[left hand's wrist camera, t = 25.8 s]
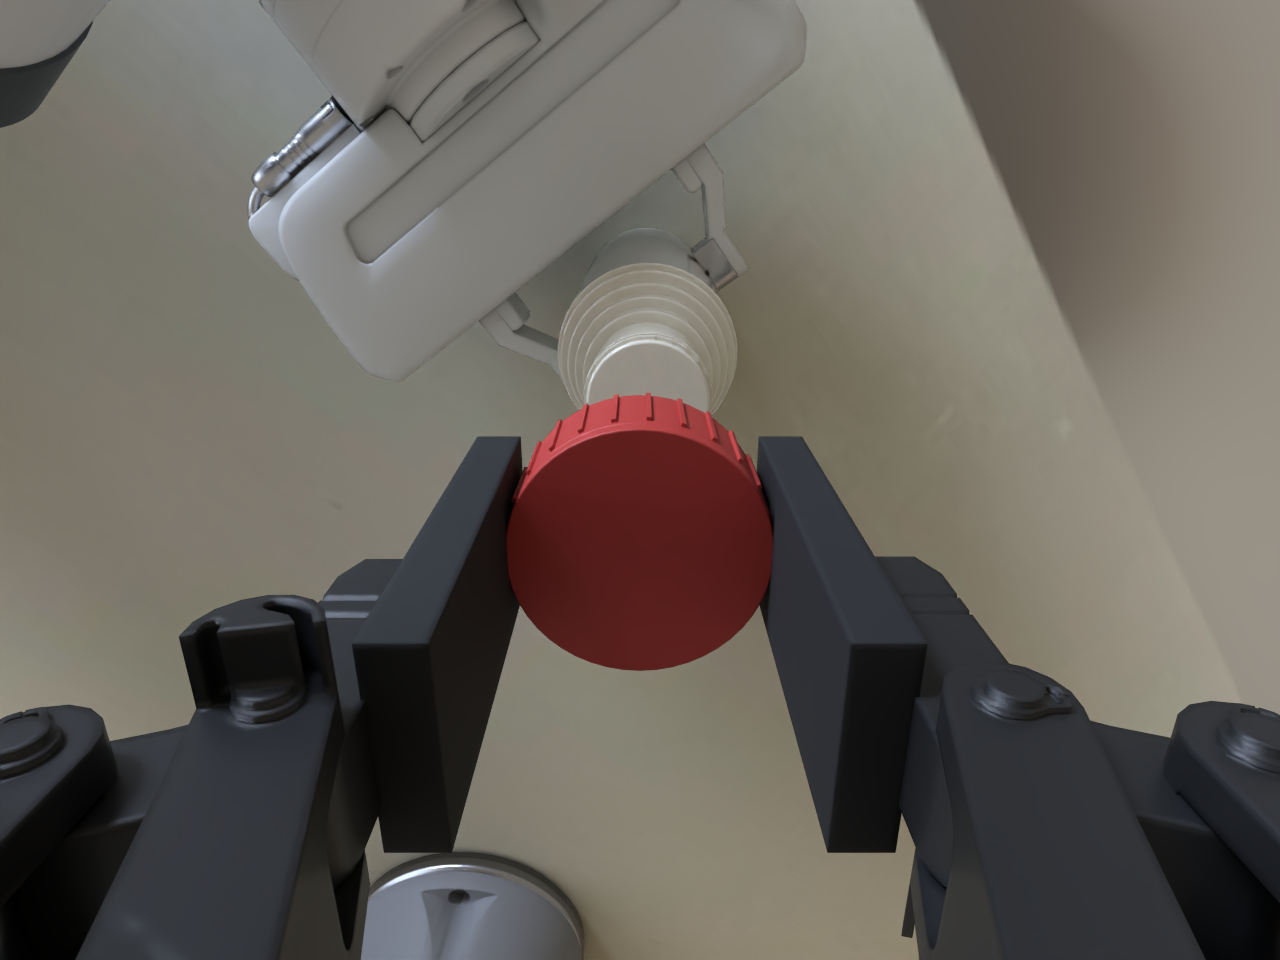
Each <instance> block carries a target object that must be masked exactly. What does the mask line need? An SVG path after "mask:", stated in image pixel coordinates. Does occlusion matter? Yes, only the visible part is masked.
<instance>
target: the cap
mask: <svg viewBox="0 0 1280 960" xmlns="http://www.w3.org/2000/svg"><path fill="white" fill-rule="evenodd" d="M761 488H762V485H761V483H760V480H759V478H758V475H757V472H756V470H755V467H754V465H753V462H752V459H751V457H750V455H749V454H748V455H745V453H744V452H743V450H742V449H741V447H740V446H739V444H738V442H737V440H736V437H735V435H734V433H733V432H732V430H731V431H729V432H728V431H727V430H726V429H725V428H724V427H723V426H722V425H720V424H719V423H718V422H717V421H716V420H715V419H713V418H712V416H711V413H710V412H708V411H706V413H704V412H702V411H700V410H698V409H696V408H694V407H692V406H690V405H688V404H685V403H683V401H682V399H679V398H678V399H677V401H676V400H673V399H669V398H663V397H658V396H651V393H646V395H633V396H621V397H619V395H618V394H616V395H614V396H613V398H611V399H606V400H603V401H600V402H597V403H594V404H591V405H588V403H587V404H585V405H583V409H581V410H579V411H577V412H576V413H574V414H573V415H571V416H570V417H568V418H566V419H565V420H564V421H562V420H561V419H560V420H559V421H558V422H557V424H556V427H555V428H554V429H553V430H552V431H551V432H550V434H549V435H548V436H547V437H546V438H545V439H544V440H543V442H540V441H539V442H538V443H537V445H536V447H535V450H534V453H533V455H532V458H531V461H530V463H529V466H528V468H527V467H524V470H523V472H522V475H521V477H520V480H519V482H518V485H517V488H516V490H515V493H514V495H513V498H512V500H511V502H513V503H514V506H513V509H512V512H511V515H510V518H509V521H508V525H507V531H506V543H507V559H508V573H509V580H510V583H511V587H512V589H513V591H514V594H515V596H516V598H517V600H518V602H519V604H520V606H521V607H522V609H523V610H524V612H525V613H526V615H527V616H528V618H529V619H530V620H531V621H532V622H533V624H534V625H535V626H536V627H537V628H538V629H539V630H540V631H541V632H542V633H543V634H544V635H545V636H546V637H547V638H548V639H550V640H551V641H552V642H554V643H555V644H557V645H558V646H559V647H561V648H562V649H564V650H566V651H567V652H569V653H571V654H573V655H575V656H577V657H579V658H581V659H584V660H586V661H589V662H591V663H595V664H598V665H602V666H605V667H610V668H616V669H622V670H637V671H643V670H658V669H664V668H670V667H674V666H678V665H681V664H685V663H688V662H691V661H693V660H696V659H698V658H700V657H703V656H705V655H707V654H708V653H710V652H712V651H714V650H716V649H717V648H719V647H720V646H722V645H723V644H724V643H726V642H727V641H728V640H730V639H731V638H732V637H733V636H734V635H735V634H736V633H737V632H739V631H740V630H741V629H742V628H743V627H744V625H745V624H746V623H747V622H748V621H749V619H750V618H751V617H752V616H753V614H754V613H755V611H756V609H757V608H758V606H759V605H760V603H761V601H762V599H763V597H764V595H765V592H766V590H767V588H768V585H769V581H770V577H771V565H772V551H773V529H772V523H771V520H770V512H769V509H768V507H767V504H766V502H765V499H764V496H763V494H762V491H761Z"/></svg>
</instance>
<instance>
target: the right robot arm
mask: <svg viewBox="0 0 1280 960" xmlns="http://www.w3.org/2000/svg"><path fill="white" fill-rule="evenodd" d="M109 1H110V0H0V128H1V127H5V126H9V125H12V124H15V123H17V122H19V121H21V120H23V119H25V118H27V117H28V116H29V115H31V114H32V113H33V112H34V111H35V110H36V109H37V108H38V107H39V106H40V104H41V103H42V101H43V100H44V98H45V97H46V95H47V94H48V92H49V91H50V89H51V88H52V86H53V85H54V83H55V82H56V81H57V79H58V78H59V76H60V75H61V73H62V72H63V70H64V69H65V67H66V66H67V64H68V63H69V61H70V60H71V58H72V57H73V56H74V54H75V53H76V51H77V50H78V48H79V47H80V45H81V44H82V42H83V41H84V39H85V38H86V36H87V34H88V32H89V30H90V28H91V25H92V23H93V20H94V19H95V18H96V17H97V15H98V14H99V13H100V12H101V11H102V10H103V8H104V7H105V6H106V5H107V4H108V3H109ZM257 1H258V2H259V4H260V5H261V6H262V8H263V9H264V10H265V11H266V13H267V14H268V15H269V16H270V18H271V19H272V20H273V21H274V23H275V24H276V25H277V26H278V28H279V29H280V30H281V32H282V33H283V34H284V35H285V37H286V38H287V39H288V40H289V42H290V43H291V44H292V45H293V47H294V48H295V49H296V50H297V52H298V53H299V54H300V55H301V57H302V58H303V59H304V60H305V62H306V63H307V64H308V65H309V67H310V68H311V69H312V70H313V72H314V73H315V74H316V76H317V77H318V78H319V79H320V81H321V82H322V83H323V84H324V86H325V87H326V88H327V89H328V90H329V92H330V93H331V94H332V97H331V99H330V100H329V101H327V102H326V103H325V104H324V105H322V106H321V108H320V109H319V110H318V111H317V112H316V113H315V114H314V115H312V116H311V117H310V118H309V119H308V120H307V121H306V122H305V123H304V124H303V125H302V126H301V127H300V128H299V130H298V131H297V132H296V133H295V135H294V136H293V137H292V138H291V139H290V141H289V142H288V143H287V144H286V145H285V146H284V147H283V148H282V149H281V150H279V151H278V152H277V153H275V152H274V153H273V154H271V155H270V156H268V157H267V158H266V159H265V160H264V161H263V162H262V163H261V164H260V165H259V166H258V167H257V169H256V170H255V172H254V173H253V175H252V182H253V184H254V185H255V186H254V188H253V190H252V192H251V194H250V197H249V201H248V218H249V227H250V229H251V232H252V234H253V236H254V237H255V238H256V240H257V241H258V243H259V244H260V245H261V246H262V247H263V248H264V249H265V250H266V252H267V253H268V254H269V255H270V256H271V257H272V258H273V260H274V261H275V262H276V263H277V264H278V265H279V266H280V268H281V269H283V270H284V271H285V272H286V273H287V274H289V275H290V276H291V277H293V278H294V279H296V280H298V281H300V283H301V284H302V286H303V287H304V289H305V291H306V292H307V294H308V295H309V297H310V298H311V300H312V301H313V303H314V304H315V306H316V307H317V309H318V310H319V312H320V313H321V315H322V316H323V318H324V319H325V320H326V322H327V323H328V325H329V326H330V327H331V329H332V330H333V332H334V333H335V334H336V336H337V337H338V338H339V340H340V341H341V342H342V344H343V345H344V346H345V347H346V349H347V350H348V351H349V352H350V354H351V355H352V356H353V357H354V359H355V360H356V361H357V362H358V363H359V365H360V366H361V367H362V368H363V369H364V370H365V371H366V372H367V373H369V374H371V375H373V376H376V377H380V378H384V379H387V380H392V381H396V382H399V381H403V380H404V379H405V378H407V377H408V376H409V375H411V374H412V373H413V372H414V371H416V370H417V369H418V368H419V367H421V366H422V365H423V364H424V363H426V362H427V361H428V360H430V359H431V358H432V357H433V356H435V355H436V354H437V353H438V352H440V351H441V350H442V349H444V348H445V347H446V346H447V345H449V344H450V343H451V342H452V341H454V340H455V339H456V338H457V337H459V336H460V335H461V334H463V333H464V332H465V331H466V330H468V329H469V328H470V327H471V326H473V325H474V324H475V323H476V322H478V321H479V322H480V323H481V324H482V326H483V327H484V328H485V329H486V330H487V332H488V333H489V334H490V335H491V337H492V338H493V339H494V340H495V342H496V343H497V344H498V345H500V346H502V347H505V348H507V349H510V350H512V351H515V352H517V353H520V354H522V355H525V356H527V357H530V358H532V359H535V360H537V361H539V362H542V363H544V364H546V363H547V362H548V363H549V364H550V365H551V367H552V368H553V369H554V370H555V372H556V373H557V374H558V375H559V377H560V378H561V374H560V371H559V365H558V339H556V338H553V337H551V336H549V335H547V334H544V333H542V332H540V331H538V330H536V329H533V328H531V327H529V326H527V325H524V323H525V322H526V320H527V319H528V318H529V316H530V310H529V309H528V308H527V307H526V305H525V304H524V303H523V301H522V300H521V299H520V297H519V296H518V295H517V294H516V291H517V290H518V289H520V288H521V287H522V286H523V285H525V284H526V283H527V282H528V281H530V280H531V279H532V278H534V277H535V276H536V275H537V274H539V273H540V272H541V271H542V270H544V269H545V268H546V267H548V266H549V265H550V264H551V263H553V262H554V261H555V260H556V259H558V258H559V257H560V256H561V255H563V254H564V253H565V252H567V251H568V250H569V249H570V248H572V247H573V246H574V245H575V244H577V243H578V242H579V241H580V240H582V239H583V238H584V237H586V236H587V235H588V234H589V233H591V232H592V231H593V230H594V229H596V228H597V227H598V226H600V225H601V224H602V223H603V222H605V221H606V220H607V219H608V218H610V217H611V216H612V215H613V214H615V213H616V212H617V211H619V210H620V209H621V208H622V207H624V206H625V205H626V204H627V203H629V202H630V201H631V200H633V199H634V198H635V197H636V196H638V195H639V194H640V193H641V192H643V191H644V190H645V189H646V188H648V187H649V186H650V185H652V184H653V183H654V182H655V181H657V180H658V179H659V178H660V177H662V176H663V175H664V174H665V173H667V172H668V171H669V170H671V169H672V171H673V172H674V174H675V175H676V176H677V178H678V179H679V181H680V182H681V183H682V185H683V186H684V188H685V189H686V191H688V192H689V193H694V192H696V191H697V190H698V189H700V188H701V190H702V201H703V212H704V224H705V235H706V237H705V238H704V239H703V240H701V241H700V242H699V243H698V244H696V245H695V246H694V247H692V248H691V249H690V251H691V253H692V255H693V256H694V258H695V259H696V260H697V262H698V263H699V265H700V266H701V267H702V268H703V269H704V270H706V273H707V275H708V276H709V278H710V280H711V281H712V283H713V285H714V287H715V288H716V289H717V291H719V290H720V289H721V288H723V287H724V286H726V285H727V284H729V283H730V282H731V281H733V280H734V279H736V278H737V277H738V276H740V275H741V274H742V273H744V272H745V271H746V270H748V269H749V268H748V266H747V264H746V262H745V261H744V259H743V258H742V256H741V255H740V253H739V252H738V250H737V249H736V247H735V246H734V244H733V243H732V241H731V240H730V238H729V237H728V235H727V234H726V232H725V231H724V229H725V228H726V214H725V199H724V185H723V172H722V170H721V169H720V167H719V166H718V164H717V162H716V161H715V159H714V158H713V156H712V155H711V153H710V152H709V150H708V149H707V147H706V145H705V144H704V143H705V142H706V141H707V140H709V139H710V138H711V137H712V136H714V135H715V134H716V133H717V132H719V131H720V130H721V129H723V128H724V127H725V126H726V125H728V124H729V123H730V122H731V121H733V120H734V119H735V118H737V117H738V116H739V115H740V114H742V113H743V112H744V111H745V110H747V109H748V108H749V107H750V106H752V105H753V104H754V103H756V102H757V101H758V100H759V99H761V98H762V97H763V96H764V95H766V94H767V93H768V92H769V91H771V90H772V89H773V88H775V87H776V86H777V85H778V84H780V83H781V82H782V81H783V80H785V79H786V78H787V77H788V76H790V75H791V74H792V73H794V72H795V71H796V70H797V69H799V68H800V67H801V65H802V63H803V61H804V56H805V48H806V37H807V27H806V23H805V20H804V17H803V15H802V13H801V11H800V10H799V8H798V6H797V4H796V3H795V1H794V0H257ZM304 167H305V168H304ZM264 195H266V196H268V197H272V196H273V197H272V198H271V199H270V200H269V201H268V202H266V203H265V204H264V205H263V206H262V207H261V208H260V203H261V200H262V198H263V196H264ZM561 379H562V378H561Z"/></svg>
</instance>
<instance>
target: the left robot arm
mask: <svg viewBox="0 0 1280 960" xmlns="http://www.w3.org/2000/svg"><path fill="white" fill-rule="evenodd" d="M522 472H523V471H522V453H521V437H477V438H476V440H475V442H474V443H473V445H472V447H471V448H470V450H469V452H468V453H467V455H466V457H465V458H464V460H463V461H462V463H461V465H460V466H459V468H458V470H457V471H456V473H455V475H454V476H453V478H452V480H451V481H450V483H449V484H448V486H447V488H446V489H445V491H444V493H443V494H442V496H441V498H440V499H439V501H438V503H437V504H436V506H435V508H434V509H433V511H432V512H431V514H430V516H429V517H428V519H427V521H426V522H425V524H424V526H423V527H422V529H421V531H420V532H419V534H418V536H417V537H416V539H415V540H414V542H413V544H412V545H411V547H410V549H409V550H408V552H407V554H406V555H405V557H404V559H365V560H364V561H362V562H360V563H359V564H357V565H356V566H354V567H352V568H351V569H349V570H348V571H346V572H345V573H343V574H341V575H340V576H338V577H337V579H336V580H335V581H334V583H333V584H332V586H331V587H330V588H329V590H328V591H327V592H326V594H325V595H324V596H323V601H320V602H319V603H317V602H315V601H314V600H313V599H309V598H304V597H300V596H296V595H266V596H261V597H255V598H250V599H244V600H240V601H237V602H234V603H231V604H229V605H226V606H223V607H220V608H217V609H214V610H213V611H211V612H209V613H208V614H206V615H204V616H202V617H201V618H199V619H197V620H195V621H194V622H192V623H191V624H190V625H189V626H188V627H187V629H186V630H185V631H184V632H183V633H182V634H181V635H180V636H179V639H180V643H181V648H182V652H183V656H184V660H185V664H186V668H187V672H188V676H189V680H190V684H191V688H192V692H193V696H194V700H195V704H196V708H197V709H196V711H195V713H194V715H193V717H192V719H191V721H190V723H189V725H185V726H181V727H177V728H174V729H170V730H165V731H160V732H155V733H150V734H145V735H140V736H135V737H130V738H125V739H120V740H115V741H109V738H108V734H107V731H106V728H105V724H104V721H103V718H102V717H101V716H100V715H98V714H97V713H96V712H95V711H93V710H92V709H91V708H86V707H80V706H74V705H61V706H51V707H39V708H35V709H30V710H26V712H23V713H22V711H21V712H18V713H15V714H12V715H9V716H6V717H4V718H2V719H0V960H583V955H584V931H583V926H582V923H581V920H580V917H579V915H578V913H577V911H576V909H575V908H574V906H573V904H572V903H571V901H570V900H569V899H568V898H567V896H566V895H565V894H564V893H563V892H562V891H561V890H560V889H559V888H558V887H557V886H556V885H554V884H553V883H552V882H551V881H549V880H548V879H547V878H545V877H544V876H542V875H541V874H539V873H537V872H536V871H534V870H532V869H530V868H528V867H526V866H524V865H521V864H519V863H516V862H514V861H510V860H507V859H504V858H500V857H496V856H492V855H486V854H480V853H468V852H453V853H452V850H453V847H454V843H455V839H456V836H457V832H458V828H459V825H460V821H461V817H462V814H463V810H464V807H465V803H466V799H467V796H468V792H469V788H470V785H471V781H472V777H473V774H474V770H475V766H476V763H477V759H478V756H479V752H480V748H481V745H482V741H483V737H484V734H485V730H486V726H487V723H488V719H489V716H490V712H491V708H492V705H493V701H494V697H495V694H496V690H497V686H498V683H499V679H500V676H501V672H502V668H503V665H504V661H505V657H506V654H507V650H508V646H509V643H510V639H511V636H512V632H513V628H514V625H515V621H516V617H517V614H518V610H519V606H520V604H519V602H518V600H517V598H516V596H515V594H514V591H513V589H512V587H511V583H510V580H509V573H508V559H507V543H506V531H507V525H508V521H509V518H510V515H511V512H512V509H513V506H514V503H513V502H511V500H512V498H513V495H514V493H515V490H516V488H517V485H518V482H519V480H520V477H521V475H522ZM757 475H758V478H759V480H760V483H761V485H762V488H761V491H762V494H763V496H764V499H765V502H766V504H767V507H768V509H769V512H770V520H771V523H772V529H773V551H772V565H771V577H770V581H769V585H768V588H767V590H766V592H765V595H764V597H763V599H762V601H761V603H760V608H761V612H762V616H763V619H764V623H765V626H766V630H767V634H768V637H769V641H770V645H771V648H772V652H773V656H774V659H775V663H776V667H777V670H778V674H779V677H780V681H781V685H782V688H783V692H784V696H785V699H786V703H787V707H788V710H789V714H790V718H791V721H792V725H793V728H794V732H795V736H796V739H797V743H798V747H799V750H800V754H801V758H802V761H803V765H804V768H805V772H806V776H807V779H808V783H809V787H810V790H811V794H812V798H813V801H814V805H815V809H816V812H817V816H818V819H819V823H820V827H821V830H822V834H823V838H824V841H825V845H826V849H827V852H828V853H895V852H896V845H897V839H898V832H899V826H900V820H901V813H902V815H903V817H904V820H905V822H906V824H907V827H908V829H909V832H910V834H911V837H912V839H913V842H914V844H915V847H916V849H915V855H914V861H913V867H912V873H911V879H910V885H909V891H908V897H907V903H906V909H905V915H904V921H903V928H902V936H904V937H910V938H912V936H913V931H914V925H915V928H916V936H917V944H918V952H919V960H1280V715H1279V714H1277V713H1274V712H1272V711H1268V710H1265V709H1262V708H1259V709H1257V708H1255V707H1254V706H1250V705H1245V704H1239V703H1227V702H1217V701H1208V702H1202V703H1196V704H1190V705H1188V706H1187V707H1186V708H1185V709H1184V710H1182V711H1181V712H1180V713H1179V714H1178V715H1177V719H1176V722H1175V725H1174V729H1173V732H1172V735H1171V738H1168V737H1163V736H1158V735H1153V734H1148V733H1143V732H1138V731H1133V730H1128V729H1123V728H1118V727H1113V726H1108V725H1105V724H1101V723H1097V722H1093V721H1090V720H1089V718H1088V716H1087V714H1086V711H1085V709H1084V707H1083V706H1082V705H1081V704H1080V702H1079V701H1078V700H1077V699H1076V697H1075V696H1074V695H1073V694H1072V692H1071V691H1069V690H1068V689H1066V688H1065V687H1063V686H1062V685H1060V684H1059V683H1057V682H1056V681H1055V680H1053V679H1052V678H1050V677H1048V676H1045V675H1043V674H1040V673H1038V672H1036V671H1033V670H1031V669H1028V668H1026V667H1022V666H1017V665H1013V664H1009V663H1008V662H1007V661H1006V659H1005V658H1004V657H1003V655H1002V654H1001V653H1000V651H999V650H998V649H997V647H996V646H995V645H994V643H993V642H992V640H991V639H990V638H989V636H988V635H987V634H986V632H985V631H984V630H983V628H982V627H981V626H980V624H979V623H978V622H977V620H976V619H975V618H974V616H973V615H969V610H968V608H967V607H966V606H965V604H964V603H963V602H962V600H961V599H960V598H957V594H956V592H955V591H954V590H953V588H952V587H951V586H950V584H949V583H948V582H947V580H946V579H945V578H944V576H943V575H942V574H941V573H940V572H938V571H936V570H935V569H933V568H932V567H930V566H928V565H927V564H925V563H924V562H922V561H920V560H919V559H917V558H916V557H875V556H874V555H873V553H872V551H871V550H870V548H869V546H868V545H867V543H866V541H865V540H864V538H863V536H862V535H861V533H860V532H859V530H858V528H857V527H856V525H855V523H854V522H853V520H852V518H851V517H850V515H849V513H848V512H847V510H846V508H845V507H844V505H843V504H842V502H841V500H840V499H839V497H838V495H837V494H836V492H835V490H834V489H833V487H832V485H831V484H830V482H829V480H828V479H827V477H826V476H825V474H824V472H823V471H822V469H821V467H820V466H819V464H818V462H817V461H816V459H815V457H814V456H813V454H812V453H811V451H810V449H809V448H808V446H807V444H806V443H805V441H804V439H803V438H802V437H759V444H758V461H757ZM377 817H379V823H380V830H381V836H382V842H383V849H384V853H441V854H433V855H429V856H424V857H420V858H417V859H414V860H411V861H408V862H406V863H403V864H401V865H399V866H397V867H395V868H393V869H392V870H390V871H389V872H387V873H385V874H384V875H383V876H381V877H380V878H379V879H378V880H377V881H376V882H375V883H374V884H373V885H372V886H371V887H370V881H369V874H368V867H367V861H366V855H365V847H366V844H367V842H368V840H369V837H370V835H371V832H372V830H373V827H374V825H375V822H376V820H377Z"/></svg>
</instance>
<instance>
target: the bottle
mask: <svg viewBox="0 0 1280 960" xmlns="http://www.w3.org/2000/svg"><path fill="white" fill-rule="evenodd" d="M690 249H691V247H690V246H689V245H688V244H687V243H686V242H685V241H684V240H682V239H681V238H679V237H678V236H676V235H674V234H672V233H670V232H668V231H665V230H662V229H657V228H646V227H645V228H636V229H632V230H628V231H626V232H623V233H621V234H619V235H617V236H616V237H614V238H613V239H611V240H610V241H609V242H608V243H607V244H606V245H605V246H604V247H603V248H602V249H601V250H600V251H599V253H598V254H597V256H596V258H595V259H594V261H593V263H592V265H591V267H590V269H589V271H588V273H587V274H586V276H585V278H584V280H583V282H582V284H581V286H580V288H579V290H578V292H577V294H576V296H575V298H574V299H573V301H572V303H571V305H570V307H569V309H568V311H567V313H566V315H565V318H564V320H563V323H562V326H561V330H560V333H559V339H558V365H559V371H560V374H561V378H562V381H563V384H564V386H565V389H566V391H567V393H568V395H569V396H570V398H571V400H572V402H573V403H574V405H575V406H576V408H577V409H578V410H581V409H583V405H585V404H587V403H588V405H591V404H594V403H597V402H600V401H603V400H606V399H611V398H613V396H614V395H616V394H618V395H619V397H621V396H633V395H646V393H651V396H658V397H663V398H669V399H673V400H676V401H677V399H678V398H679V399H682V401H683V403H685V404H688V405H690V406H692V407H694V408H696V409H698V410H700V411H702V412H704V413H706V411H708V412H710V413H711V416H712V415H713V414H714V413H715V412H716V411H717V409H718V408H719V406H720V405H721V403H722V402H723V400H724V399H725V397H726V395H727V393H728V391H729V389H730V387H731V384H732V381H733V379H734V375H735V371H736V366H737V357H738V346H737V337H736V332H735V328H734V325H733V322H732V319H731V317H730V315H729V313H728V310H727V308H726V307H725V305H724V303H723V301H722V299H721V298H720V296H719V294H718V292H717V290H716V289H715V287H714V285H713V283H712V281H711V280H710V278H709V276H708V275H707V273H706V271H705V270H704V269H703V268H702V267H701V266H700V265H699V263H698V262H697V260H696V259H695V258H694V256H693V255H692V253H691V251H690Z"/></svg>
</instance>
